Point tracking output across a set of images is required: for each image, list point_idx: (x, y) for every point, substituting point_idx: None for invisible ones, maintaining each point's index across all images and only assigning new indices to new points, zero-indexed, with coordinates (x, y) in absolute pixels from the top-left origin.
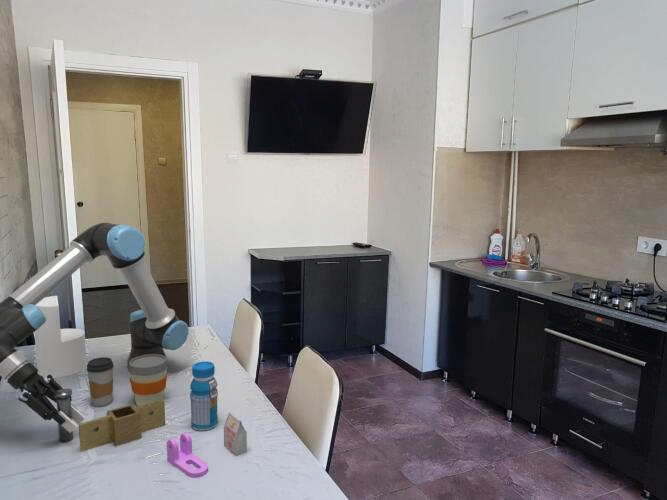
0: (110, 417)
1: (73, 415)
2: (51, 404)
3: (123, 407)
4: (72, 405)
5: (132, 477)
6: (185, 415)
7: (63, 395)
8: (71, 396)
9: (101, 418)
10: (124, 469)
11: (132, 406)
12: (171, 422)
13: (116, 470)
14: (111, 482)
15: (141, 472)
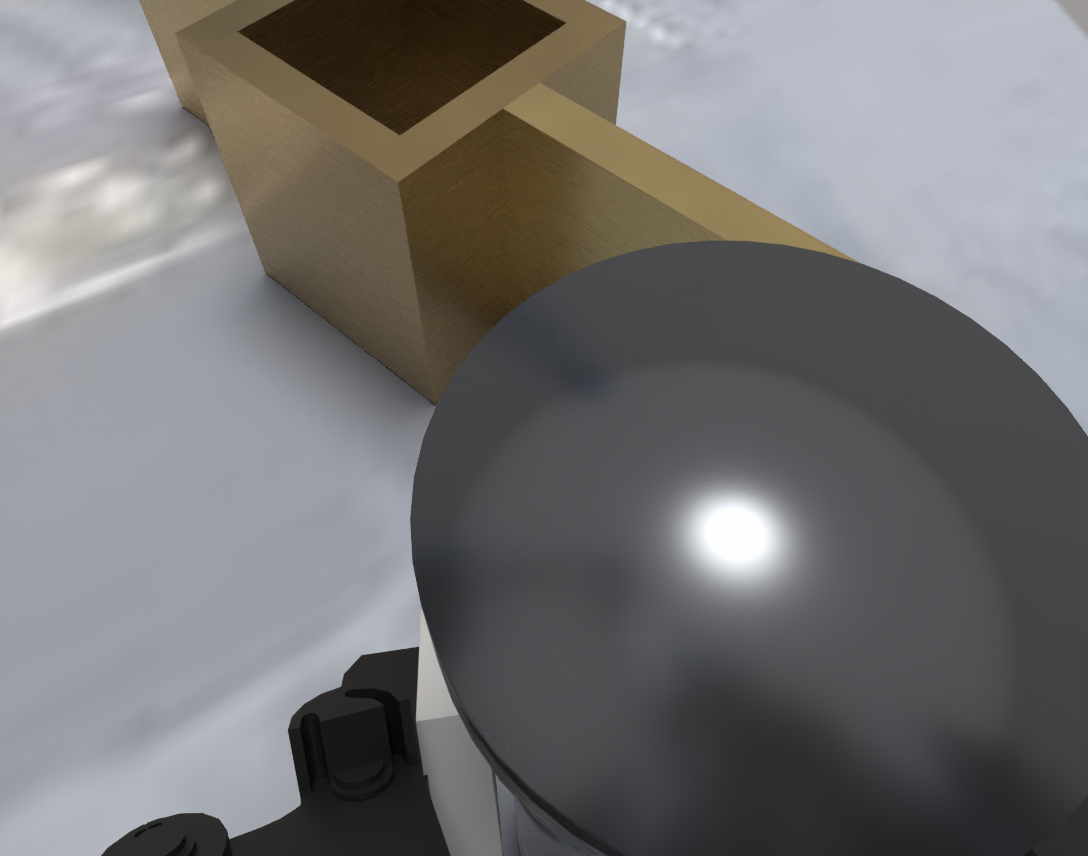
0: (544, 97)
1: None
2: (1070, 840)
3: (281, 68)
4: (421, 666)
5: (905, 27)
6: (45, 32)
7: (967, 334)
8: (115, 844)
9: (615, 145)
10: (854, 89)
11: (251, 6)
12: (164, 71)
13: (886, 122)
14: (1008, 93)
15: (839, 9)
